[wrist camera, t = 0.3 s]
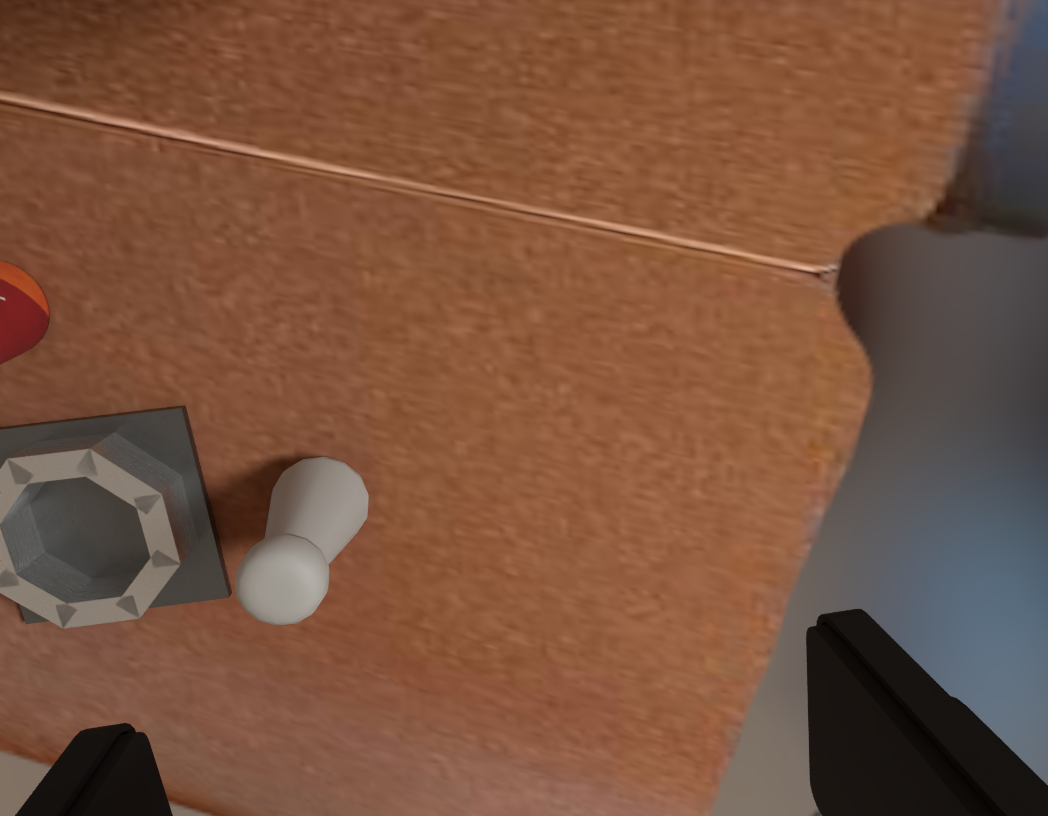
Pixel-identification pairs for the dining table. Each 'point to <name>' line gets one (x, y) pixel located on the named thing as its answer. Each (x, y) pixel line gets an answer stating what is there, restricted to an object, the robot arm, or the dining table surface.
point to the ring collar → (106, 518)
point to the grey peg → (301, 540)
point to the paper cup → (20, 312)
